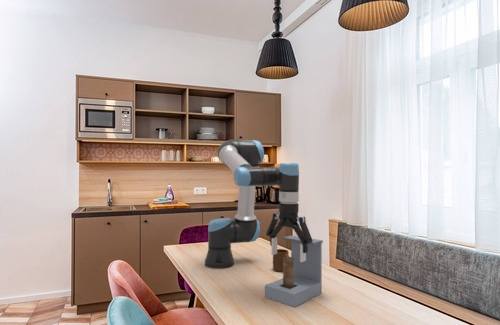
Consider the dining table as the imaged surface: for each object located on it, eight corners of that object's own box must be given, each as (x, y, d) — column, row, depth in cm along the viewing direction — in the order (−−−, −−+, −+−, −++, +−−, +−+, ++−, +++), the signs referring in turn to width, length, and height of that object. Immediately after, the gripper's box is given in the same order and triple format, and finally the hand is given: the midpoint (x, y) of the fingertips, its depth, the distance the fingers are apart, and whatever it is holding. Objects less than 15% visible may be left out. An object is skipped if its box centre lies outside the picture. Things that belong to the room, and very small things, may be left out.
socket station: (263, 296, 131) (263, 241, 131) (291, 284, 144) (291, 235, 145) (295, 307, 120) (295, 248, 121) (322, 293, 134) (322, 240, 135)
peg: (281, 297, 130) (281, 258, 130) (287, 294, 133) (287, 256, 133) (289, 300, 127) (289, 259, 128) (295, 297, 130) (295, 257, 131)
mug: (296, 274, 159) (296, 253, 160) (281, 275, 157) (281, 255, 157) (283, 267, 171) (283, 248, 171) (270, 268, 168) (270, 249, 168)
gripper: (258, 200, 136) (257, 253, 136) (311, 206, 120) (310, 266, 119) (269, 199, 142) (269, 250, 142) (322, 204, 125) (321, 262, 125)
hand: (288, 257), depth 131 cm, fingers open, 13 cm apart
